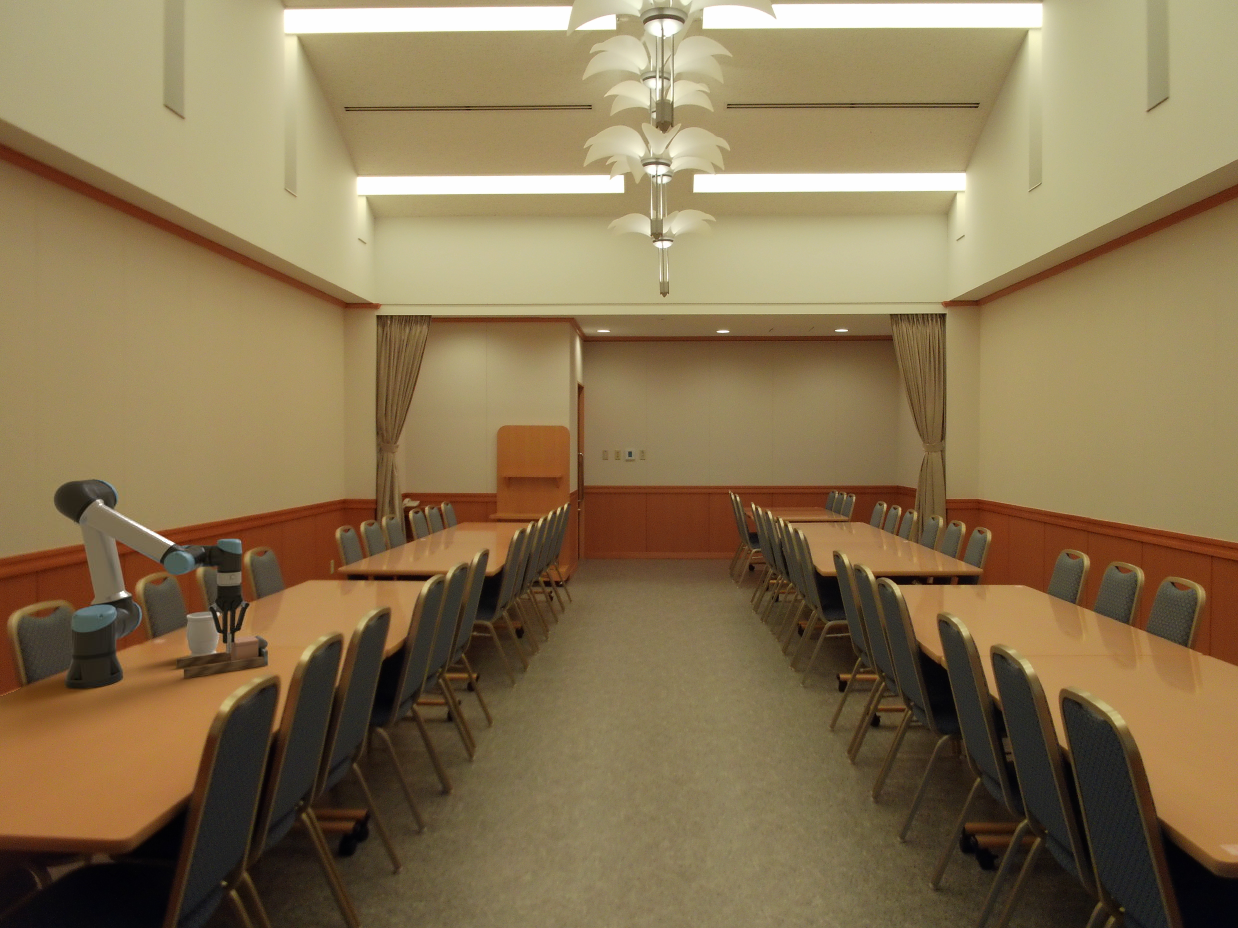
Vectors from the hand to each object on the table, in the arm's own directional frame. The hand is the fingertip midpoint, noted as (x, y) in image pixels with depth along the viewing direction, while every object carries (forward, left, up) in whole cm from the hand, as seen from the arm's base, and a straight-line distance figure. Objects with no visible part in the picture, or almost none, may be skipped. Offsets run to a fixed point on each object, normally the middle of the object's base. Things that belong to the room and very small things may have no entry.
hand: (228, 652), depth 256 cm
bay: (-1, 0, -5) cm, 5 cm away
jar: (-4, +19, -5) cm, 20 cm away
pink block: (+5, 0, -5) cm, 7 cm away
